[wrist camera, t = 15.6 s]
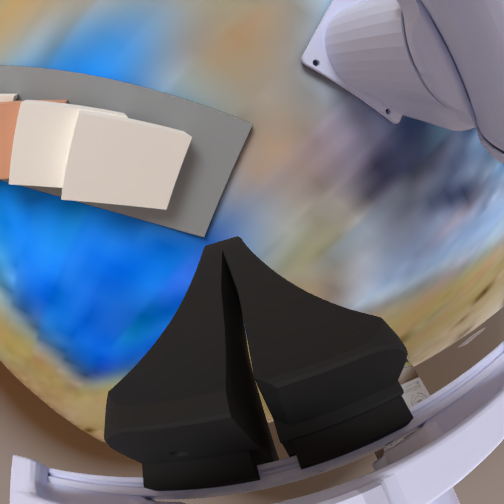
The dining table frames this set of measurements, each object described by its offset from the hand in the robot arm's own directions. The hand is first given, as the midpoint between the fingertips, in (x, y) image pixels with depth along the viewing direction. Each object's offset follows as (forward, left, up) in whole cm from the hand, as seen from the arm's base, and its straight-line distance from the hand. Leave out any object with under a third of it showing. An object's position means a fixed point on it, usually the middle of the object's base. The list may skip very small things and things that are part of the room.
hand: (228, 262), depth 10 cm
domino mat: (+10, 0, -10) cm, 14 cm away
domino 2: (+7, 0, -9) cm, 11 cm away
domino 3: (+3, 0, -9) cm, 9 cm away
